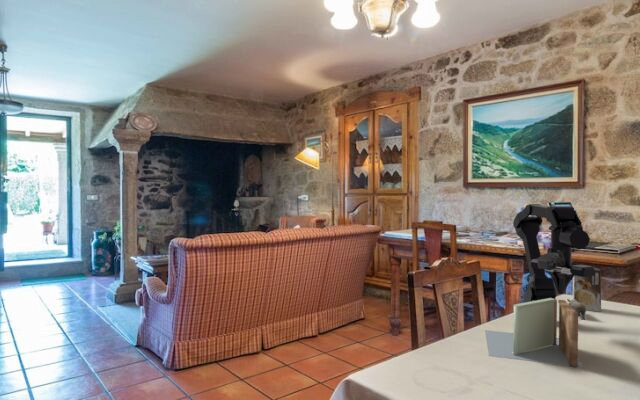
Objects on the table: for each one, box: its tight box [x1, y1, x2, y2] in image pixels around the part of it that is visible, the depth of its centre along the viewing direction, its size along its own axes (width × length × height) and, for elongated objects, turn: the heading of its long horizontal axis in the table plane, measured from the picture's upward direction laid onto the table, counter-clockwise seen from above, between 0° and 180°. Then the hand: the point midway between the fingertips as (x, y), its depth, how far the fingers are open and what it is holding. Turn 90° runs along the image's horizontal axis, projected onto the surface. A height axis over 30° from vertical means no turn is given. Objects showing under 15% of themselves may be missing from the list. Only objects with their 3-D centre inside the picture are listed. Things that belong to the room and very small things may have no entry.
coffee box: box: [572, 267, 602, 313], centre depth 162 cm, size 9×6×16 cm
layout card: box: [484, 329, 585, 369], centre depth 120 cm, size 23×22×1 cm
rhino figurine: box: [567, 298, 587, 321], centre depth 153 cm, size 4×14×6 cm, turn 164°
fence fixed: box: [557, 299, 579, 368], centre depth 112 cm, size 16×2×14 cm, turn 161°
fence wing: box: [512, 298, 558, 355], centre depth 117 cm, size 2×18×14 cm, turn 118°
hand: (560, 293), depth 131 cm, fingers closed
